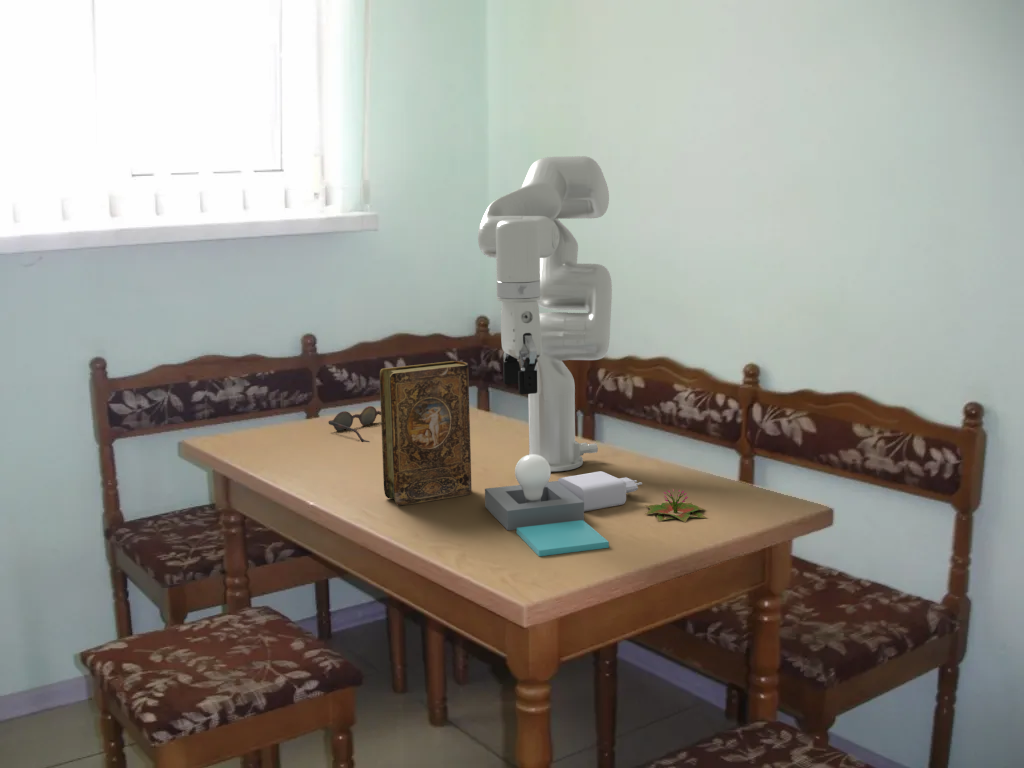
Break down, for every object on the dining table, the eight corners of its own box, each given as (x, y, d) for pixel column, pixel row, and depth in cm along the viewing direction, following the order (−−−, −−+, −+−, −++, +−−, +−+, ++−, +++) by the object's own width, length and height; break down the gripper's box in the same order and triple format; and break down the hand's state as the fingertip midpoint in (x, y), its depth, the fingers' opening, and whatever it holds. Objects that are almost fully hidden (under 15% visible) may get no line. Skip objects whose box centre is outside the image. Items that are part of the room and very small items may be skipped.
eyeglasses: (379, 423, 276) (378, 403, 275) (417, 433, 266) (416, 412, 265) (328, 434, 266) (327, 413, 265) (366, 445, 256) (365, 423, 255)
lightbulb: (530, 506, 207) (529, 448, 205) (558, 512, 203) (557, 453, 201) (508, 515, 203) (507, 455, 200) (536, 521, 199) (535, 461, 196)
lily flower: (697, 503, 209) (697, 479, 208) (718, 523, 198) (719, 498, 197) (634, 507, 207) (634, 483, 206) (651, 528, 196) (652, 502, 195)
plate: (582, 525, 196) (582, 519, 196) (608, 547, 185) (608, 541, 185) (516, 533, 193) (516, 527, 193) (539, 556, 182) (538, 550, 181)
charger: (653, 501, 210) (583, 514, 203) (625, 488, 218) (557, 500, 211) (653, 476, 209) (583, 488, 202) (625, 464, 217) (557, 476, 210)
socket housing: (557, 498, 212) (557, 480, 211) (584, 521, 198) (583, 502, 198) (485, 507, 208) (484, 488, 207) (507, 530, 194) (507, 510, 194)
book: (463, 486, 221) (460, 360, 216) (475, 493, 216) (472, 364, 211) (384, 499, 213) (378, 369, 208) (394, 507, 209) (389, 373, 204)
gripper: (554, 295, 189) (555, 396, 192) (525, 285, 205) (526, 378, 208) (511, 297, 187) (513, 399, 190) (485, 287, 203) (487, 381, 206)
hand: (520, 388), depth 199 cm, fingers open, 9 cm apart
